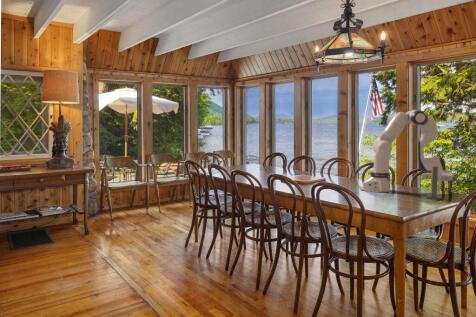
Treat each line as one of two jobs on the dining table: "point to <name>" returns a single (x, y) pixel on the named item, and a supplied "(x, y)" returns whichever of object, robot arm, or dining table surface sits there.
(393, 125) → the robot arm
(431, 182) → the link
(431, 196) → the stand
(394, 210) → the dining table surface
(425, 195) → the mat
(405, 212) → the dining table surface
